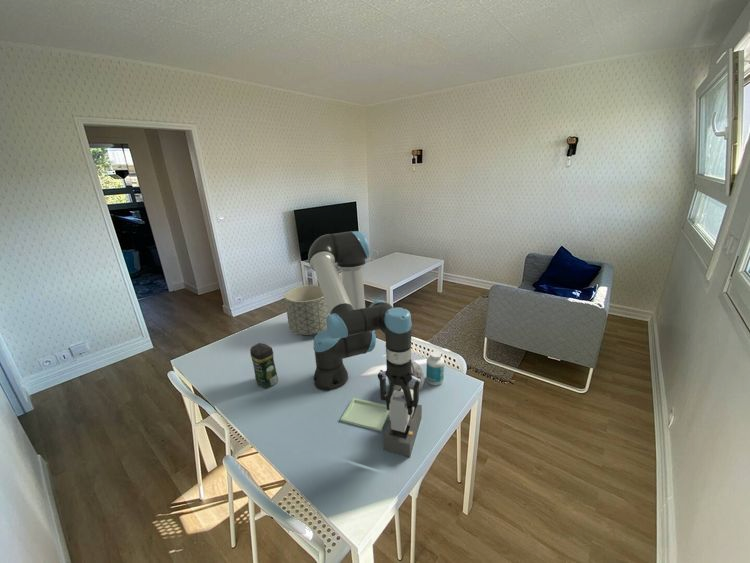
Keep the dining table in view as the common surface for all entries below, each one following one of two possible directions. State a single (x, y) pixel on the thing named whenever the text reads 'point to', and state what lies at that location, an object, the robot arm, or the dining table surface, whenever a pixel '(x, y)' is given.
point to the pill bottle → (435, 368)
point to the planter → (306, 310)
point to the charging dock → (403, 434)
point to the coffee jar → (264, 365)
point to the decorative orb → (416, 373)
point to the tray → (366, 414)
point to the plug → (398, 411)
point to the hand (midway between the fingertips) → (399, 419)
